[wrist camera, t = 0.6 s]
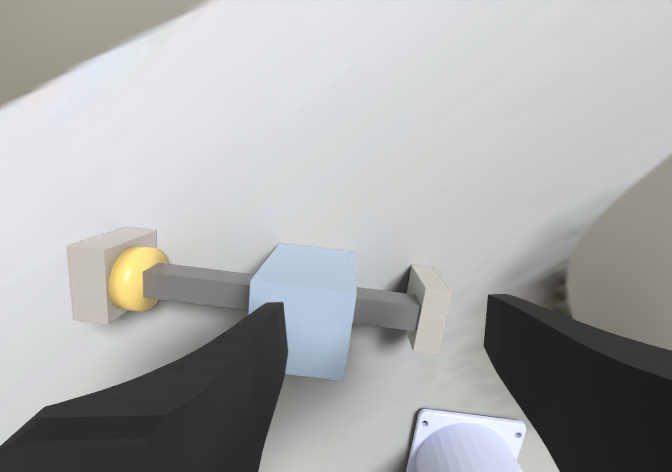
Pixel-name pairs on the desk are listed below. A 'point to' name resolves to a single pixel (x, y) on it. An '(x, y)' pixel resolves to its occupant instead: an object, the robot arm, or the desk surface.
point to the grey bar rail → (227, 288)
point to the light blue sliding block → (310, 305)
